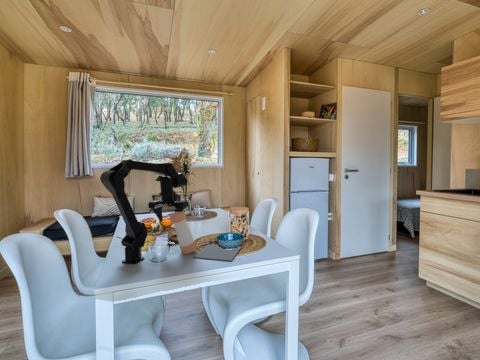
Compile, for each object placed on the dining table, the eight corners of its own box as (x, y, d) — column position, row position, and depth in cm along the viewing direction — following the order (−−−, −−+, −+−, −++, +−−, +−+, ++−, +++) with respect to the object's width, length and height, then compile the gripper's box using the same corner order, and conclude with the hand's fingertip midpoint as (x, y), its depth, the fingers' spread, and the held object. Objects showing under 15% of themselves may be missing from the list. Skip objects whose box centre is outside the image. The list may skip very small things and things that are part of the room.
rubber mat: (231, 261, 107) (231, 260, 107) (193, 257, 111) (193, 256, 111) (241, 247, 125) (241, 246, 124) (208, 245, 129) (208, 244, 129)
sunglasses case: (185, 243, 131) (178, 232, 130) (173, 251, 130) (165, 240, 129) (183, 234, 149) (176, 224, 147) (172, 241, 147) (166, 231, 146)
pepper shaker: (186, 255, 114) (172, 217, 109) (178, 251, 120) (165, 214, 115) (199, 247, 118) (187, 209, 113) (192, 243, 124) (179, 207, 119)
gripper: (193, 186, 126) (195, 218, 128) (160, 187, 131) (163, 216, 133) (181, 190, 115) (183, 224, 117) (146, 190, 121) (149, 223, 123)
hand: (169, 222), depth 123 cm, fingers open, 9 cm apart
